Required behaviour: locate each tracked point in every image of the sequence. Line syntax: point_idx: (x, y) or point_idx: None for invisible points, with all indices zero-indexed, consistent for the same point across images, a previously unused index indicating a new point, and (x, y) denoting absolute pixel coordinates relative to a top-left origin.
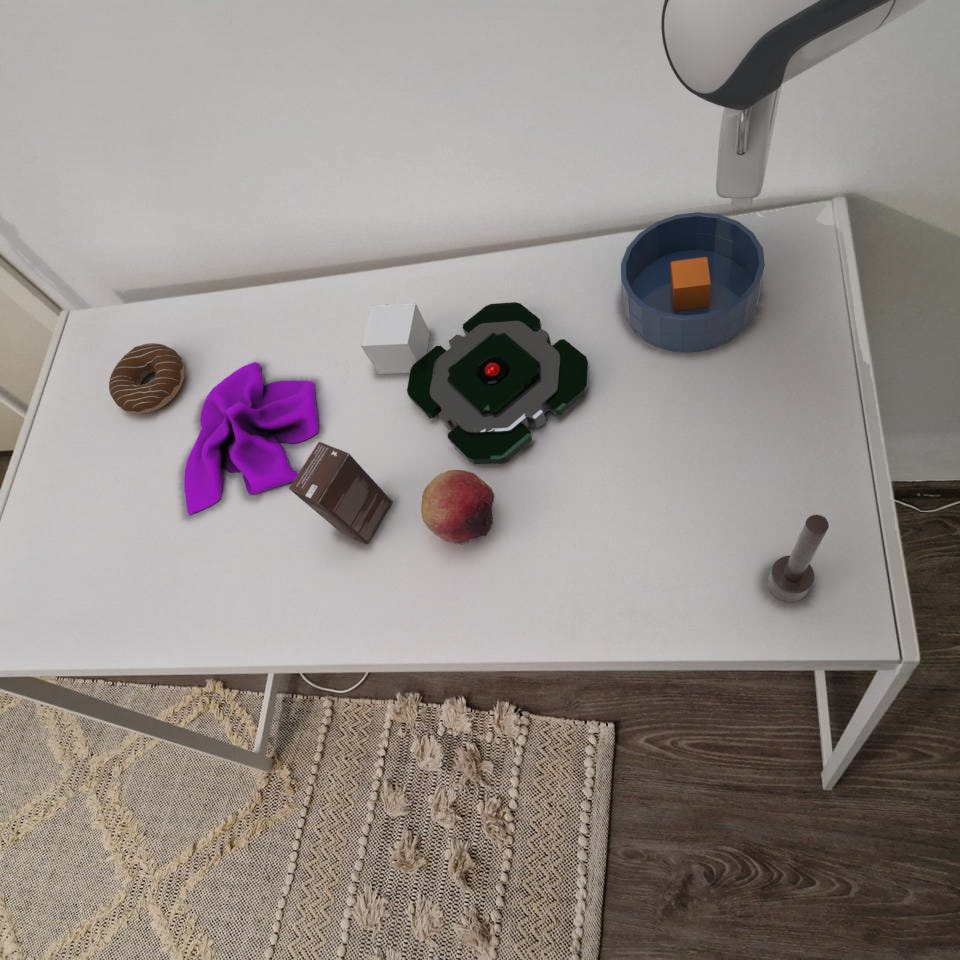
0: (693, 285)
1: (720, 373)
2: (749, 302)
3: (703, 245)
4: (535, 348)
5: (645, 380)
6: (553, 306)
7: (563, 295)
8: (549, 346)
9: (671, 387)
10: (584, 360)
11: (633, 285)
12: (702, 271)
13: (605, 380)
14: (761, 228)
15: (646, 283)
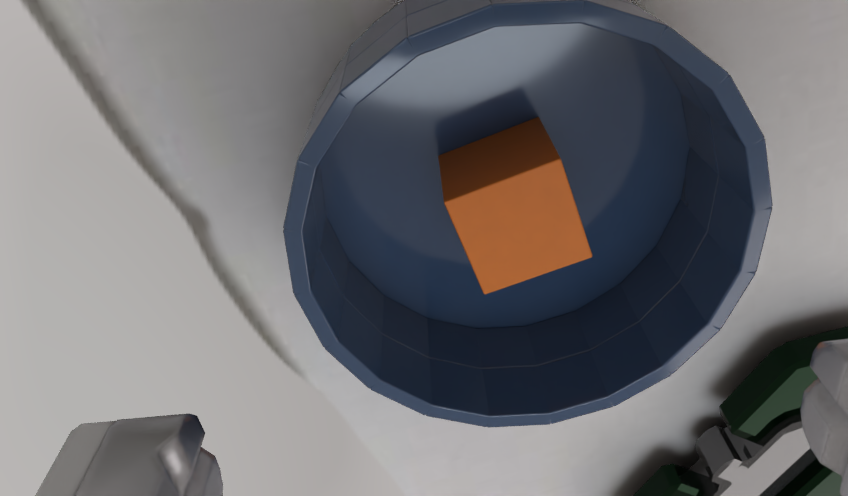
0: (573, 207)
1: (769, 8)
2: (630, 7)
3: (322, 204)
4: (773, 473)
5: (794, 199)
6: (575, 451)
7: (539, 443)
8: (766, 450)
9: (819, 129)
10: (801, 368)
11: (493, 323)
12: (511, 198)
13: (794, 287)
14: (165, 47)
15: (480, 297)
